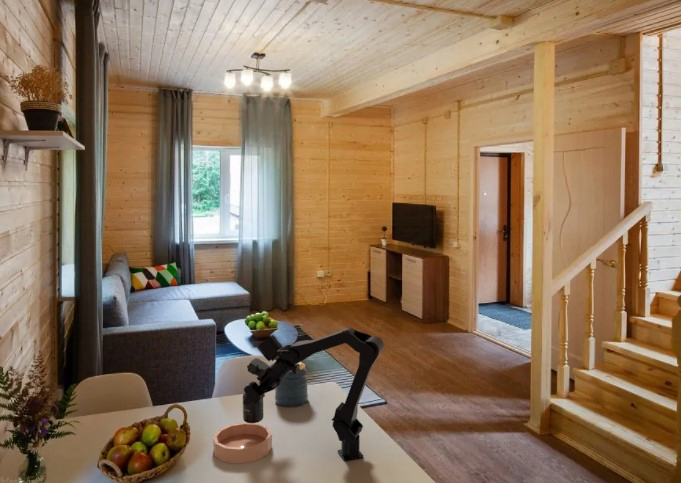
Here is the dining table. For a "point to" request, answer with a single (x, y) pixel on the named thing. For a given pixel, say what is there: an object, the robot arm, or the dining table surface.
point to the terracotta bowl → (242, 442)
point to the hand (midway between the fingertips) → (249, 399)
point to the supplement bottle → (252, 410)
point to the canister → (293, 388)
